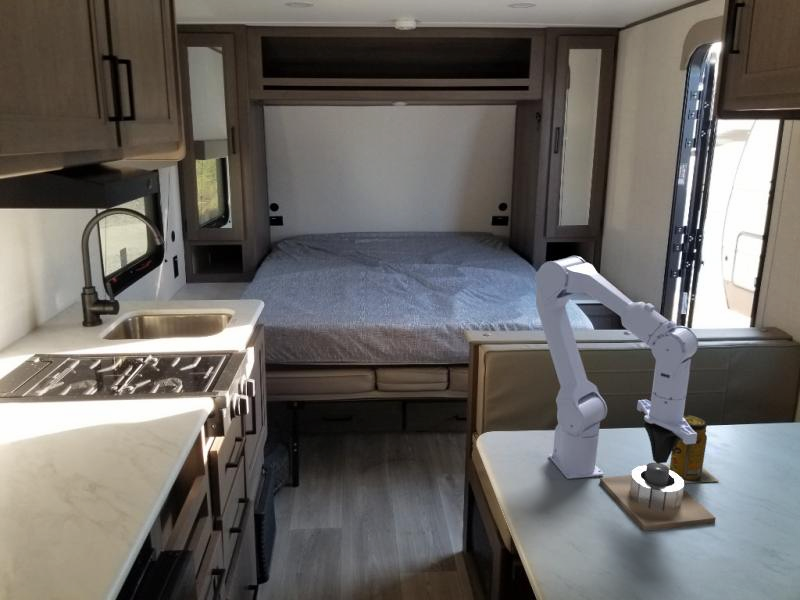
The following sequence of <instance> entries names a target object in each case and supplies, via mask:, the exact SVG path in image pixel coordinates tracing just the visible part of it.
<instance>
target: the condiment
mask: <svg viewBox="0 0 800 600" xmlns="http://www.w3.org/2000/svg"><path fill="white" fill-rule="evenodd" d="M683 417H684V419H685V420H686V422H687V423H688V424H689V426H690V427H691V428H692V430H693V431H695V432H696V433H697V439H696V443H694V444H685V443H683V439H682V438H681V439H680V440H679V441H678V442H677V444H676V445H675V446H674V448H673V450H672V452H671V454H670V462H669V464H664V465H665V466H667V467H668V468H669V470H670V471H672V472H674V473H676V474H677V475H679V476H680V477H681V478H682V480H683V482H684V484H698V483H699V484H700V483H712V482H720V480H719V479H718V478H716V477H715V476H714V475H712V474H711V473H710V472H709V471H707V469H706V468H705V467H704V462H705V461H704V459H705V455H706V449H707V448H706V447H707V440H708V437H707V434H706V433H707V427H708V426H707V422H706V421H705V420H704V419H702V418H700V417H697V416H694V415H683Z"/></svg>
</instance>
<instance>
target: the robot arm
mask: <svg viewBox="0 0 800 600" xmlns="http://www.w3.org/2000/svg"><path fill="white" fill-rule="evenodd" d="M534 281H535V282H534V283H535V286H536V298H535V307H536V308H537V312H538V315H539V319H540V322H541V323H540V324H541V326H542V329H543V332H544V337H545V340H546V343H547V347H548V349H549V352H550V356H551V359H552V362H553V365H554V366H553V367H554V368H555V372H556V375H557V379H558V382H559V385H560V388H559V391H558V393H557V396H556V397H555V398H556V399H555V403H556V408H557V412H556V419H557V425H556V426H555V429H554V436H553V437H554V439H553V450H552V453H549V455H548V457H549V459H550V460H551V461H552V462H553V464H555V466H556V467H557V468H558V469H559V471H560V472H561V474H563V475H564V477H566V479H568V480H569V479H570V480H572V479H580V478H591V477H600V476H601V477H603V476H604V471H602V470H601V469H600V468H599V467H598V466H597V465H596V462H597V455H598V444H599V435H600V426H601V421H603V420H604V419H605V418H606V417H607V414H608V406H607V403H606V401H605V400H604V398H603V397H602V396H601V395H600V392H599V389H598V387H597V385H595V384H594V383H593V382H591V381H590V380H588V378H587V373H586V371H585V370H586V369H585V367H584V364H583V360H582V358H581V354H580V352H579V351H580V350H579V347H578V345H577V341H576V337H575V334H574V332H573V328H572V325H571V321H570V317H569V314H568V312H567V308H566V305H567V304H568V302H569V300H570V299H571V297H572V295H573V294H576V293H577V294H584V293H585V294H587V295H589V296H590V297H592V298H593V299H594V300H596V301H598V302H599V303H600V304H602V305H603V306H605V307H606V308H607V309H609V310H611V311H612V312H614V313H615V314H617V315H618V316H619V317H620V320H621V325H622V327H623V328H625V329H626V330H627V331H629V332H630V333H631V334H632V335H634V336H635V337H636V338H637V339H639V340H640V342H643V343H645V345H646V346H648V347H649V348H650V350H651V354H652V355H653V357H654V359H655V365H654V373H653V382H652V391H651V396H650V400H648V399H641V400H640V399H639V400H637V405H636V410H637V411H639V412H644V414H645V415H644V417H643V418H644V419H643V420H644V421H645V423H644V424H643V425H644V429H645V431H646V433H647V436H648V439H649V441H650V449H651V456H652V461H654V463H660V464H666V463H667V462H668V460H669V459H670V457H671V454H672V450H673V448H674V446H675V445H676V444H677V442H678V441H679V440H680V439H681V438H682V439H683V443H685V444H694V443H696V439H697V433H696V432H695V431H693V430H692V428H691V427H690V426H689V424H688V423H687V422H686V420H685V419H684V417H683V416H685V415H684V413H685V407H686V399H687V394H688V385H689V379H690V369H691V362H692V359H691V357H693V355H695V354H696V352H697V350H698V349H699V348H698V347H699V340H698V338H697V335H696V334H695V333H694V332H693V331H692V330H691V328H689V327H688V326H685V325H684V326H683V325H677V323H676V322H674V321H673V320H671V321H670V320H669V319H667V318H666V317H664V316H663V315H662V314H660V313H659V312H657V311H656V310H655V308H656V307H655V305H653V304H652V303H650V302H648V303H646V302H645V301H636V302H635V301H632V300H631V299H629V298H628V297H627V296H626V295H625V294H623V292H621V291H620V290H619V289H618V288H617V287H615V286H614V285H613V284H612V283H610V282H609V281H608V280H607V279H606V278H605V277H604V276H602V275H601V274H600V273H598V271H597V270H596V268H595V267H594V265H593V264H592V263H589V262H586V260H585V259H584V258H582V257H581V256H578V255H571V256H568V257H566V258H562V259H558V260H553V261H552V260H550V261H546V262H544V263H543V264H541V265H540V268H539V269H538V270H537V272H536V274H535V276H534Z"/></svg>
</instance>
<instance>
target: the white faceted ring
mask: <svg viewBox="0 0 800 600" xmlns="http://www.w3.org/2000/svg"><path fill="white" fill-rule="evenodd" d="M646 466H647V465H641V466H637V467H636V468H634V469H633V470H631V475H632V476H631V485H630V496H631V497H632V498H633V499H634V500H635V501H636V502H638V504H640V505H643V506H645V507H647V508H649V507H650V509H654V510H659V511H662V510H663V511H669V510H674V509H675V510H676V509H677V508H678V507H679V506H681V502H682V496H683V489H684V488H685V483H684V482H683V480H682V478H681V477H680V476H679V475H677V474H676V473H674V472H672V471H670V470H669V477H668V486H667V487H659V486H654V485H651V484H649V483H647V482H645V475H646ZM684 490H685V489H684Z"/></svg>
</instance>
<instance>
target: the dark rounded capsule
mask: <svg viewBox="0 0 800 600" xmlns="http://www.w3.org/2000/svg"><path fill="white" fill-rule="evenodd" d="M665 465H666V464H664V463H656V462H649V463H647V464H646V465H645V466H646V475H645V482H647V483H649V484H651V485H654V486H659V487H667V486H668V477H669V468H668V467H667V466H665Z"/></svg>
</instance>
